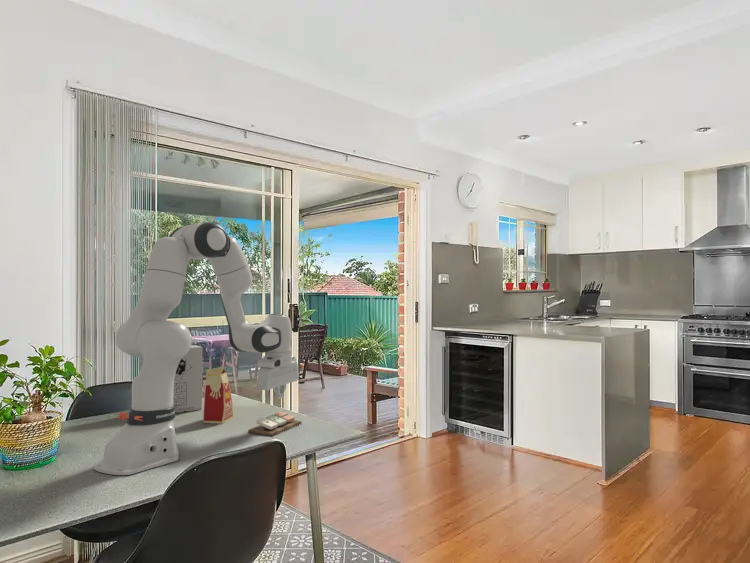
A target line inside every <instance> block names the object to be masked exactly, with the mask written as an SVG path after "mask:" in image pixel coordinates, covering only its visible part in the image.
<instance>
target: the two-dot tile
mask: <svg viewBox="0 0 750 563" xmlns="http://www.w3.org/2000/svg"><path fill="white" fill-rule="evenodd" d="M265 418H266V419H268V420H270V421H273V422H275V423H277V424H278V426H281V425H283V424H285V423H286V422H287V420H284V419H282V418H280V417H277V416H275V415H274V414H271V415H268V416H265Z"/></svg>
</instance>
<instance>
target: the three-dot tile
mask: <svg viewBox="0 0 750 563" xmlns="http://www.w3.org/2000/svg"><path fill="white" fill-rule="evenodd" d="M273 415H275V416H277V417H280V418H282V419H284V420H287V422H290V421H293V420H295V418H296V417H295V416H293V415H290V414H288V413H286V412H283V411H278V412H276V413H274V414H273Z"/></svg>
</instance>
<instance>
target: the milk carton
mask: <svg viewBox="0 0 750 563" xmlns="http://www.w3.org/2000/svg"><path fill="white" fill-rule="evenodd" d="M204 371H205V372H206V373H205V374H206V375H205V384H204V385H205V386H204V387H205V388H204V401H203V421H202V423H203V424H218V425H219V424H221V425H223V424H225V423H227V422H229V421H231V420H232V419H234V406H233V400H232V399H233V398H232V391H231V387H230V382H229V377H228V374H227V371H226V369H225V365H223V366H222V365H221V366H219V367H215V368H210V369H204Z"/></svg>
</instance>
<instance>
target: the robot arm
mask: <svg viewBox="0 0 750 563" xmlns="http://www.w3.org/2000/svg"><path fill="white" fill-rule="evenodd" d="M206 259H207V260H208V261H209V262H210V264H211V266H212V268H213V272H214V274H215V277H216V280H217V283H218V287H219V296H220V300H221V304H222V308H223V311H224V312H223V313H224V314H225V319H226V322H227V326H228V339H229V340H228V341H229V344H230V346H231V347H232V348H233V349H234V350H235V351H236V352H240V353H241V352H247V353H249V352H250V353H257V354H263V353H266V354H265V355H264V356H263V357H262V358H261V359H259V360H258V362H257V367H259V369H258V371H257V383H258V384H257V385H258V388H259V390H262V391H270V390H273V392H274V395H275V399H277V400H280V399H282V398H284V397H285V392H286V388H287V384H291V383H294V382H297V381H299V378H300V374H299V373H300V370H299V365H298V362H297V358H296V357H295V356H293V349H292V348H293V347H292V339H293V336H292V333H293V332H292V330H293V329H292V322H291V319H290V317H289V316H288V315H286V314H280V313H279V314H278V313H270V314H268V315H267V317H266V318H265V319H264V320H262V321H260V322H258V323H257V324H252V323H250V322H248V320H247V318H246V316H245V313H244V309H243V305H242V301H241V300H242V299H241V298H242V295H243V294H244V293H246V292H247V291H248V290H249V289H250V287H251V285H252V283H253V274H252V271H251V268H250V266H249V262H248V259H247V257H246V256H245V253H244V251H243V249H242V247H241V246H240V243H239V242H238V241H237V239H236V238H235V237H233V236H231V235H228V233H227V231H226V229H225V228H224V227H222V226H221V225H219V224H218V223H216V222H215V223H214V222H204V223H192V224H189V225H185V226H179V227H178V228H175V229H174V230H173V231H172V232H171V233H170V234H169V236H163V237H161V238H159V239H157V240H155V243H154V244H153V246H152V249H151V251H150V254H149V257H148V260H147V263H146V264H147V265H146V269H145V274H144V277H143V283H142V286H141V291H140V295H139V298H138V300H137V303H136V304H135V306H134V308H133V310H132V312H131V314H130V316H129V317H128V318H127V320H126V321H125V322H124V323H123V324H121V326H120V327H119V328H118V329H117V331H116V334H115V344H116V346H117V348H118V349H119V350H120V351H121V352H123V353H125V354H127V355H129V356H131V357H135V358H140V357H142V358H143V365H142V368H141V371H140V370H139V373H138V374H137V375H136V376H135V377H134V378H133V380H132V381H131V407H130V409H129V412H123V411H121V412H119V414H118V416H117V417H118V419H119V420H123V421H125V424H124V425H123V426H122V428H121V429H119V431H118V432H116V434H115V435H113V437H112V438H111V439H110V440H109V441H108V442H107V443H106V444H105V447H104V451H103V458H102V459H103V460H100V461H97V462H95V463H94V464H93V469H94V470H95V471H97V472H99V473H103V474H106V475H107V474H108V475H115V476H129V475H130V476H131V475H134V474H137V473H140V472H143V471H147V470H151V469H154V468H158V467H160V466H164V465H167V464H170V463H174V462H177V461H179V459H180V458H179V455H180V450H179V448H178V443H177V437H176V429H175V421H174V420H175V418H176V413H175V405H174V404H173V399H174V378H175V374H176V370H177V367H178V365H179V362H180V360H181V359H182V358H183V356H185V355H186V354H187V353H188V351H189V350H190V347H191V346H192V343H193V336H192V333H191V332H190V329H189V328H188V327H187V326H185V325H184V324H181V323H178V322H175V321H172V320H168V319H169V317H170V314H171V313H172V312H173V310H174V309H176V308H177V307H178V306H179V305H180V303H181V302H182V298H183V293H184V287H185V282H186V276H187V270H188V269H187V268H188V265H189V263H190V261H191V260H206Z"/></svg>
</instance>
